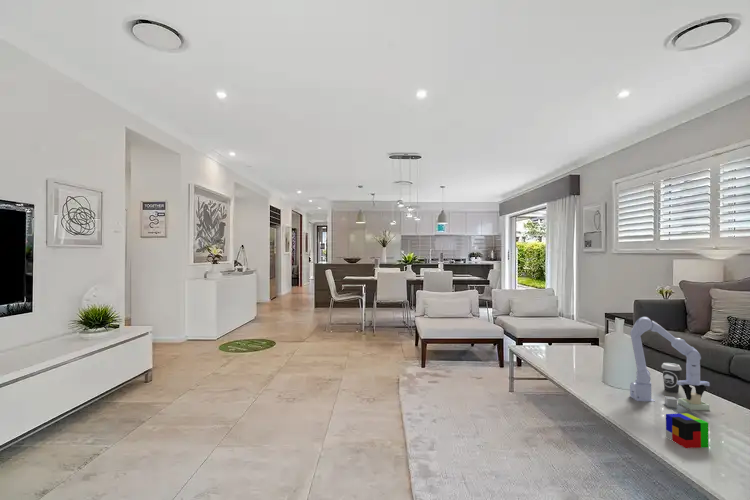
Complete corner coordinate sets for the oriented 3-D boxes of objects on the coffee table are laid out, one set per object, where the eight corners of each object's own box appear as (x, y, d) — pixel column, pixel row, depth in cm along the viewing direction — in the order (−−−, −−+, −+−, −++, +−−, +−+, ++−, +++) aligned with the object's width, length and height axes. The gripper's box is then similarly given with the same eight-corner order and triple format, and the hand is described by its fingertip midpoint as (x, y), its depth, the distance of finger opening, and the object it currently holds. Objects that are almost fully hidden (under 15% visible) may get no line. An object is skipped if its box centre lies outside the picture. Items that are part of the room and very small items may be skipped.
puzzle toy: (666, 437, 176) (665, 414, 176) (687, 436, 177) (687, 413, 177) (685, 448, 166) (685, 423, 166) (708, 447, 167) (708, 422, 167)
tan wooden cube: (691, 403, 209) (692, 395, 209) (686, 400, 213) (686, 392, 213) (700, 404, 209) (700, 395, 209) (695, 401, 213) (695, 392, 213)
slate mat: (679, 415, 200) (679, 414, 200) (662, 404, 214) (662, 404, 214) (697, 415, 200) (697, 415, 200) (678, 405, 214) (678, 404, 214)
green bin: (690, 410, 207) (690, 404, 207) (678, 403, 216) (678, 398, 216) (709, 410, 206) (709, 405, 206) (696, 404, 215) (696, 398, 215)
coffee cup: (685, 394, 231) (685, 367, 231) (666, 392, 233) (666, 366, 233) (676, 388, 240) (676, 362, 240) (658, 387, 242) (658, 362, 242)
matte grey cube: (667, 406, 211) (667, 398, 211) (664, 403, 215) (664, 396, 215) (677, 407, 209) (677, 399, 209) (674, 404, 213) (674, 397, 213)
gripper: (683, 374, 208) (683, 401, 208) (713, 375, 207) (714, 402, 207) (674, 370, 215) (674, 397, 215) (703, 371, 214) (704, 397, 214)
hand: (693, 399), depth 211 cm, fingers closed on tan wooden cube, 4 cm apart
